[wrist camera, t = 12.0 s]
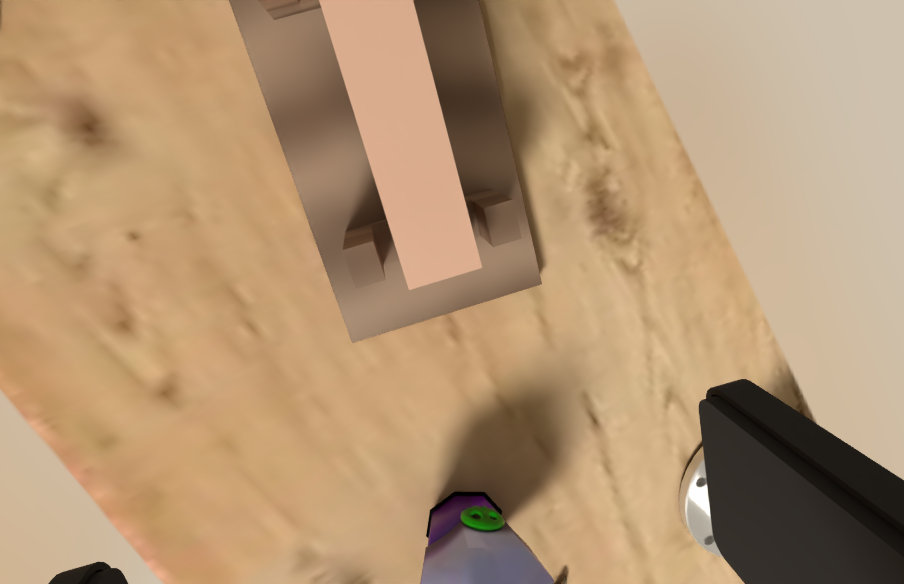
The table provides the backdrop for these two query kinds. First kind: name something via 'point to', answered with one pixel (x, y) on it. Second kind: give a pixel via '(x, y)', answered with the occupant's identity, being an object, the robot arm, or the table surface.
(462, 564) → the potion bottle
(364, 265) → the rack
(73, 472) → the table surface
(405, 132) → the pink rectangular block
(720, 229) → the table surface
